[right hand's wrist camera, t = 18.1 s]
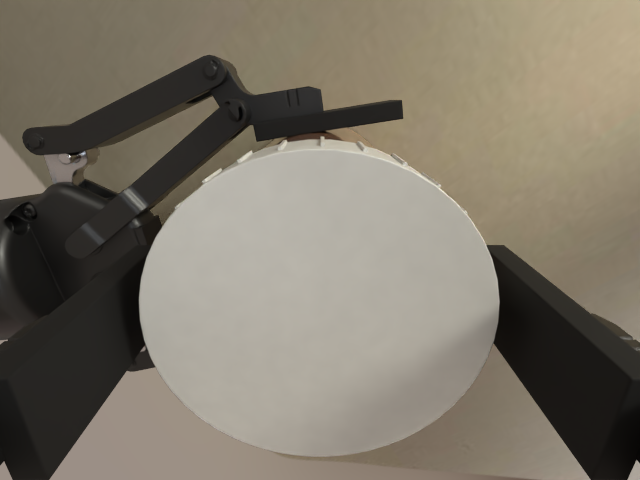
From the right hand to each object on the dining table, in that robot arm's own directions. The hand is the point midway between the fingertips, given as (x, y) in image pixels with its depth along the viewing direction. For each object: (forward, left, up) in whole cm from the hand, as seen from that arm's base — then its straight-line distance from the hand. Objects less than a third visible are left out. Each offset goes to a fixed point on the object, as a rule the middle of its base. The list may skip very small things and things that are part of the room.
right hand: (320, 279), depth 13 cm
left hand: (-1, +4, -6) cm, 7 cm away
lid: (0, 0, +3) cm, 3 cm away
